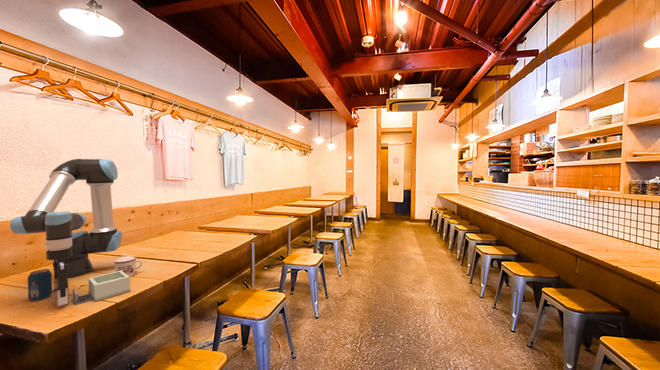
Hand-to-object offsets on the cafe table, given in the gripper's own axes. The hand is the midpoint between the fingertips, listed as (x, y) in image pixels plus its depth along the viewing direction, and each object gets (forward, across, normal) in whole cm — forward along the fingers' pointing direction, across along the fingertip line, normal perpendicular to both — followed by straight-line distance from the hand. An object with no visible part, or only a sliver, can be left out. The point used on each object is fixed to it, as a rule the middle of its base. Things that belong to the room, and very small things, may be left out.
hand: (61, 301), depth 106 cm
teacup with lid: (+1, -17, +27) cm, 32 cm away
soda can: (+1, -15, -5) cm, 16 cm away
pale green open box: (+1, +3, +15) cm, 15 cm away
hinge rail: (+1, +3, +6) cm, 7 cm away
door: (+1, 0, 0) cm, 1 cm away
